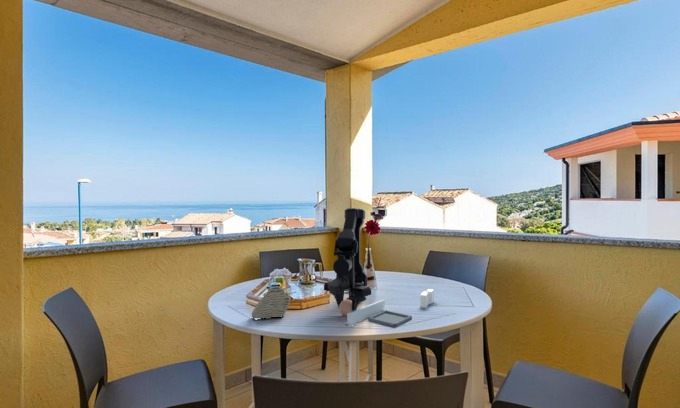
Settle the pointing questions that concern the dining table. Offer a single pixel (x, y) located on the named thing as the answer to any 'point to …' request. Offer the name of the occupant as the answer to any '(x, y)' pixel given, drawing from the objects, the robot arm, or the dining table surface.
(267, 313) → the fossil tooth
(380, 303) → the acrylic wall
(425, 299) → the napkin holder
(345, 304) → the ball
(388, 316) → the coaster
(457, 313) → the dining table surface
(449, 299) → the dining table surface
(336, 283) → the robot arm
